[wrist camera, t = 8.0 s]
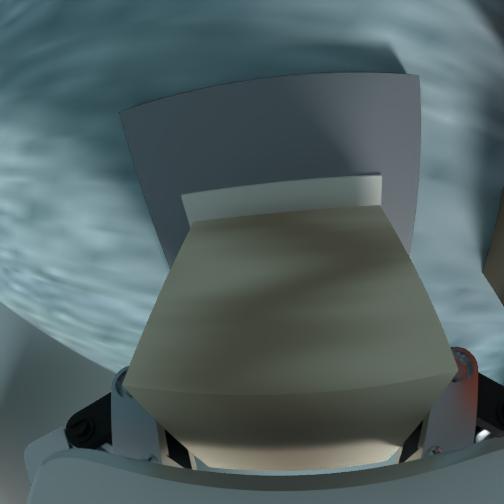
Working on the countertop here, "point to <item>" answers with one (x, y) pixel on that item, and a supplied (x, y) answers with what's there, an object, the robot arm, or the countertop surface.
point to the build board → (279, 149)
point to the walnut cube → (496, 256)
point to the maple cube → (292, 342)
